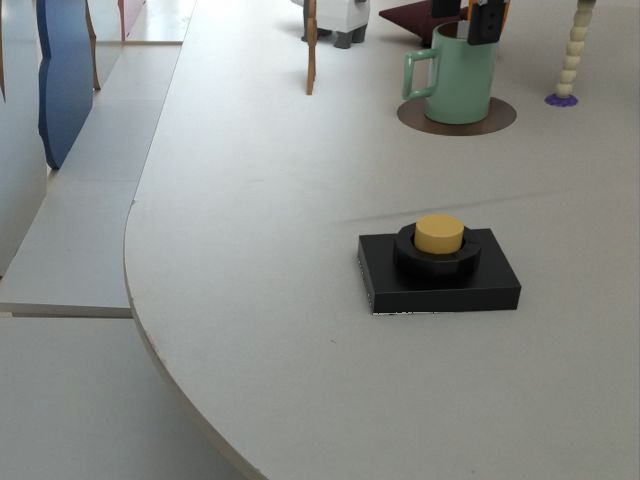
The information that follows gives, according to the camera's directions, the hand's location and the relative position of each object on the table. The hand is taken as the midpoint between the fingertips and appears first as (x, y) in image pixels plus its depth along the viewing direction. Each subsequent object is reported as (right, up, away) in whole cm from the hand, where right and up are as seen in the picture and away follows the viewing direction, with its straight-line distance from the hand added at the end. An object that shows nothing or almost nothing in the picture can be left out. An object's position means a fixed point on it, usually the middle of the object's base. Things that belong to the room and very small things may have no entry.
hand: (462, 29), depth 83 cm
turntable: (+1, -8, +6) cm, 10 cm away
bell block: (-9, -28, -18) cm, 35 cm away
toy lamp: (+13, -7, +6) cm, 16 cm away
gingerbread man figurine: (-13, -1, +17) cm, 21 cm away
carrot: (+9, +3, +19) cm, 21 cm away
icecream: (+6, +9, +28) cm, 30 cm away
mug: (0, -7, +5) cm, 9 cm away
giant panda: (-8, +12, +34) cm, 37 cm away
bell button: (-10, -26, -20) cm, 34 cm away
